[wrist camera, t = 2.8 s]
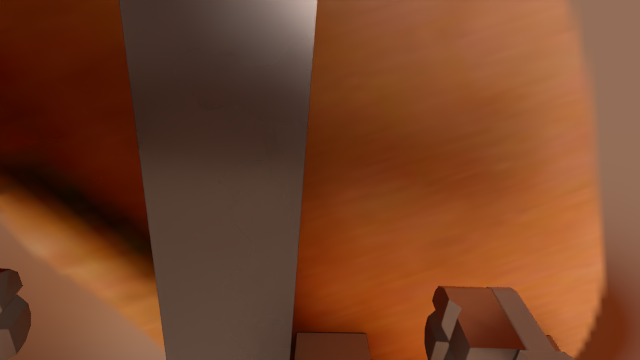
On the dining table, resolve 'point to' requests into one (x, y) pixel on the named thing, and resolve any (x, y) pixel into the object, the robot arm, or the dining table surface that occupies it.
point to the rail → (222, 165)
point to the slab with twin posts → (340, 346)
